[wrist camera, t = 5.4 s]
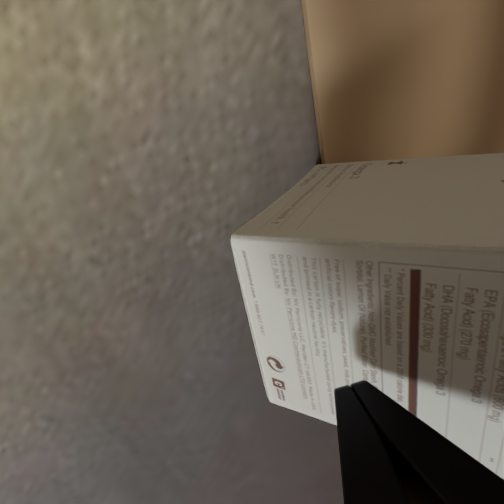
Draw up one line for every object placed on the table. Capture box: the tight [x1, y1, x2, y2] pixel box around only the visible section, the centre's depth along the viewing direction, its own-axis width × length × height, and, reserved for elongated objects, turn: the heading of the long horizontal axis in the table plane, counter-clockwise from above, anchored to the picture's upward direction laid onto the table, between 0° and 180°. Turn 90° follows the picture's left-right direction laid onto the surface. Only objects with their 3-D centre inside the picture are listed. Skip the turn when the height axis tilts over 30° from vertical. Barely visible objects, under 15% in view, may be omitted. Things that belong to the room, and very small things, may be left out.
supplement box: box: [230, 153, 504, 480], centre depth 11 cm, size 7×7×13 cm
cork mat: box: [301, 0, 504, 164], centre depth 17 cm, size 14×22×1 cm, turn 12°
